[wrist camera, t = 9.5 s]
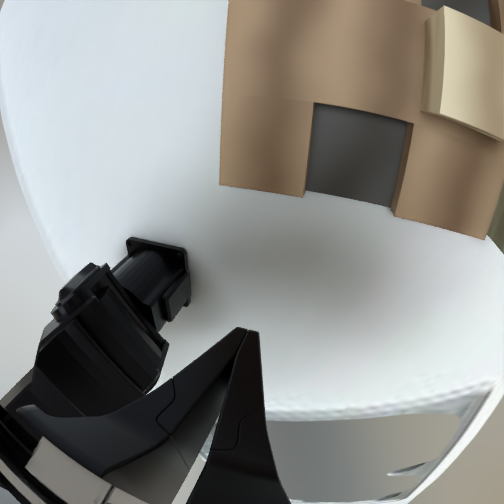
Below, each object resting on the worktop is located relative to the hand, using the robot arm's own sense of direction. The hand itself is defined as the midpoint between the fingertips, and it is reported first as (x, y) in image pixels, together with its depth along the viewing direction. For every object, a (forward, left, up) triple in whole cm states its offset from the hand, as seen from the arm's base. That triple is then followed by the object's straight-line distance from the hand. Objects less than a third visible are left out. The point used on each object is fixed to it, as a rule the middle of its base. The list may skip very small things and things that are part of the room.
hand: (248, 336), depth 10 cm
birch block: (+10, +12, -10) cm, 18 cm away
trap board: (+4, +12, -12) cm, 18 cm away
